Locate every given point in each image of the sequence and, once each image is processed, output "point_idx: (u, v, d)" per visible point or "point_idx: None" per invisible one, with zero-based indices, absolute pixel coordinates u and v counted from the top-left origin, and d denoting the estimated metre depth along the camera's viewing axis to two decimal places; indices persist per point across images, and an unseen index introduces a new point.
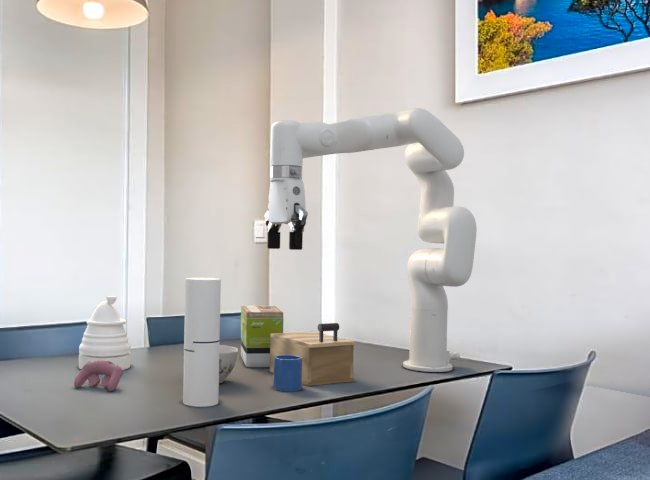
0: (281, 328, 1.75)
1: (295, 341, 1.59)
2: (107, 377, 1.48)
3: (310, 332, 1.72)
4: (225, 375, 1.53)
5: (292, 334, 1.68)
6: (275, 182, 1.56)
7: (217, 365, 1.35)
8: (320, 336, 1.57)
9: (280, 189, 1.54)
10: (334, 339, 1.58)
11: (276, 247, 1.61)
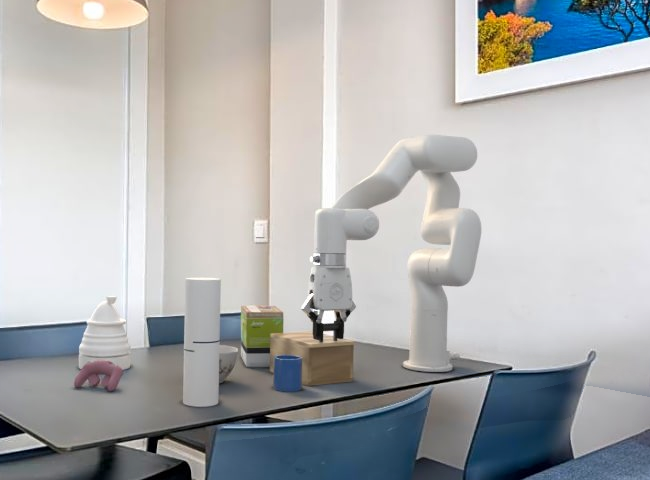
0: (281, 328, 1.75)
1: (295, 341, 1.59)
2: (107, 377, 1.48)
3: (310, 332, 1.72)
4: (225, 375, 1.53)
5: (292, 334, 1.68)
6: None
7: (217, 365, 1.35)
8: None
9: None
10: (334, 339, 1.58)
11: (338, 337, 1.58)
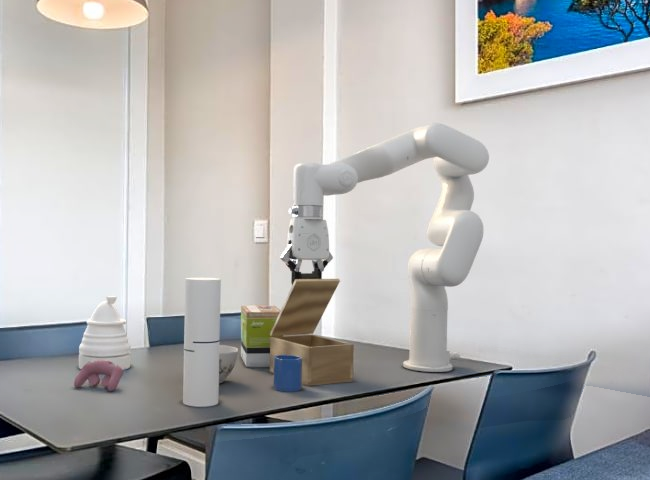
0: None
1: (286, 300, 1.62)
2: (107, 377, 1.48)
3: None
4: (225, 375, 1.53)
5: None
6: None
7: (217, 365, 1.35)
8: None
9: None
10: None
11: None
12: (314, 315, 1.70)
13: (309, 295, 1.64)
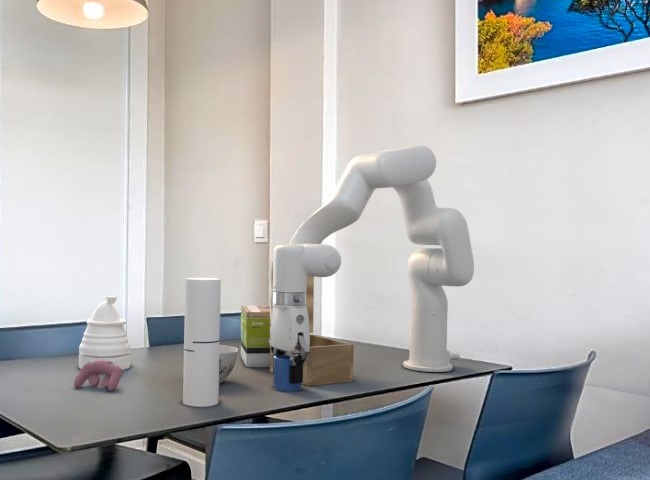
0: None
1: (270, 288, 1.69)
2: (107, 377, 1.48)
3: None
4: (225, 375, 1.53)
5: None
6: (278, 307, 1.50)
7: (217, 365, 1.35)
8: None
9: (283, 316, 1.48)
10: None
11: None
12: None
13: None
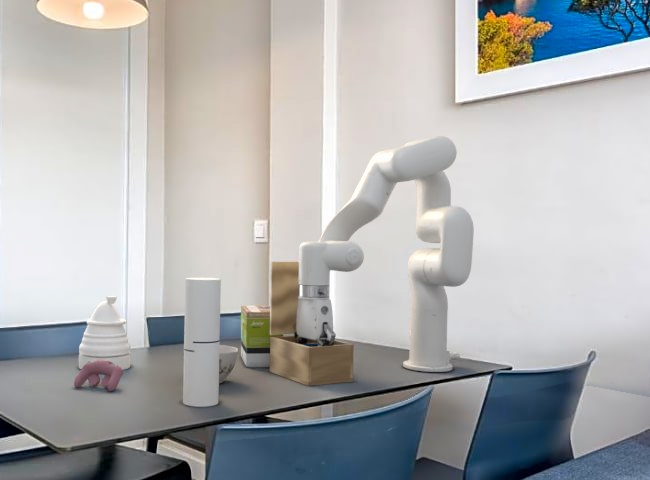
0: None
1: (270, 288, 1.69)
2: (107, 377, 1.48)
3: None
4: (225, 375, 1.53)
5: None
6: (304, 300, 1.63)
7: (217, 365, 1.35)
8: None
9: (309, 308, 1.61)
10: None
11: None
12: None
13: (291, 280, 1.71)
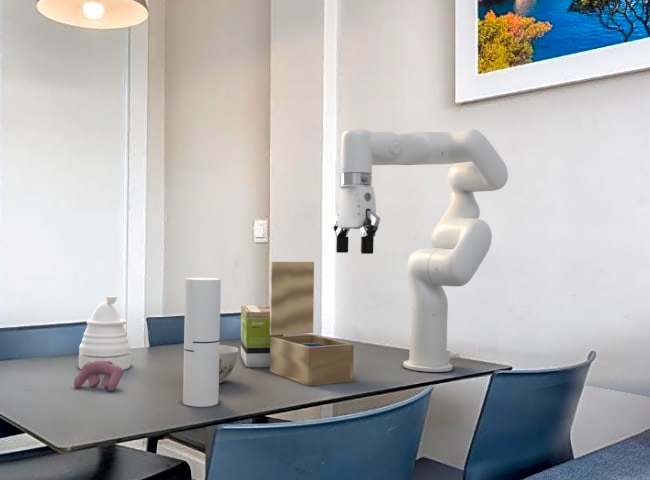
0: None
1: (270, 288, 1.69)
2: (107, 377, 1.48)
3: None
4: (225, 375, 1.53)
5: None
6: (346, 188, 1.61)
7: (217, 365, 1.35)
8: None
9: (351, 195, 1.59)
10: None
11: (344, 251, 1.67)
12: (305, 307, 1.73)
13: (291, 280, 1.71)
